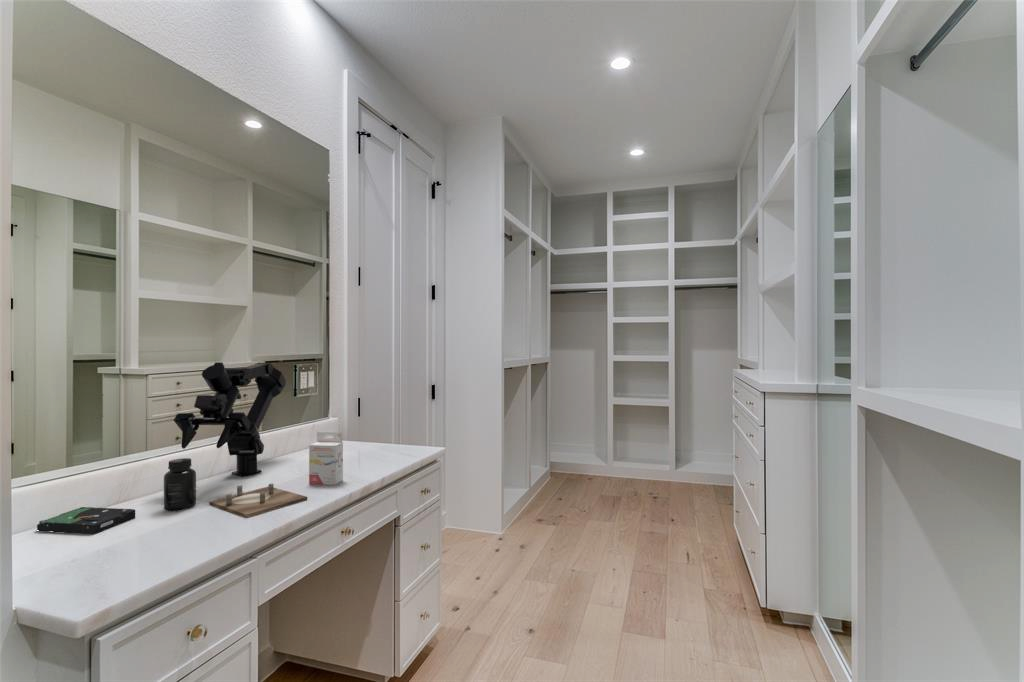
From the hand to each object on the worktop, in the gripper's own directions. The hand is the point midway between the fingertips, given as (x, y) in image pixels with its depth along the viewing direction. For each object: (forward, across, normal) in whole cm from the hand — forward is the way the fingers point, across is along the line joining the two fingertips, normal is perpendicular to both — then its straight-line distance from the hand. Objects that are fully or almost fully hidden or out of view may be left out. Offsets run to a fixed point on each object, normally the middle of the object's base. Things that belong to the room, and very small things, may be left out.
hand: (200, 447), depth 132 cm
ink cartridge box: (+1, +29, +19) cm, 35 cm away
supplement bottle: (+16, 0, +4) cm, 16 cm away
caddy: (+13, +18, +6) cm, 23 cm away
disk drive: (+24, -14, -4) cm, 28 cm away
